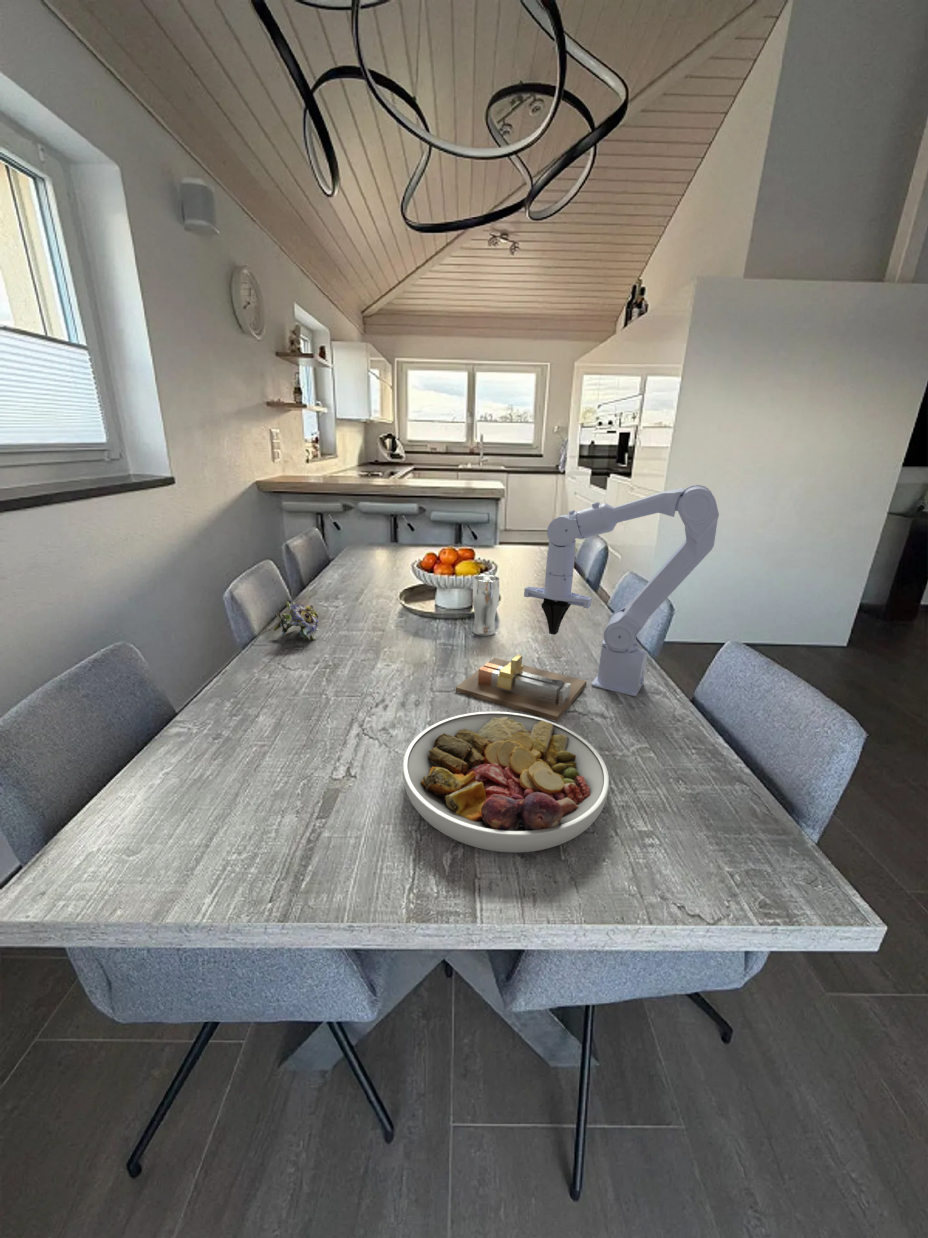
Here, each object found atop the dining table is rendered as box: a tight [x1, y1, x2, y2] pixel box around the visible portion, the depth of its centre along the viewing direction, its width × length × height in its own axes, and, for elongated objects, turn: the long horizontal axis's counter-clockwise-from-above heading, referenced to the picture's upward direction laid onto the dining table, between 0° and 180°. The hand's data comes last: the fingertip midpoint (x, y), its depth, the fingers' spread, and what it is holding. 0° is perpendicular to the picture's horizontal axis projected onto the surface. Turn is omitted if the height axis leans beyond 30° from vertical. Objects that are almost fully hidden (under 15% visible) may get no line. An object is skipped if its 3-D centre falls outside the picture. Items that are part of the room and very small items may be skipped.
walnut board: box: [455, 657, 587, 722], centre depth 111 cm, size 22×18×1 cm
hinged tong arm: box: [483, 662, 564, 699], centre depth 108 cm, size 17×2×3 cm, turn 61°
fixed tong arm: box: [478, 665, 571, 706], centre depth 107 cm, size 18×4×3 cm, turn 61°
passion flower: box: [273, 601, 319, 642], centre depth 132 cm, size 11×11×12 cm
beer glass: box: [472, 574, 500, 637], centre depth 139 cm, size 7×7×15 cm
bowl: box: [402, 711, 610, 853], centre depth 78 cm, size 30×30×8 cm
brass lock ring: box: [497, 654, 524, 691], centre depth 107 cm, size 3×6×6 cm, turn 150°
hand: (553, 633), depth 116 cm, fingers closed
